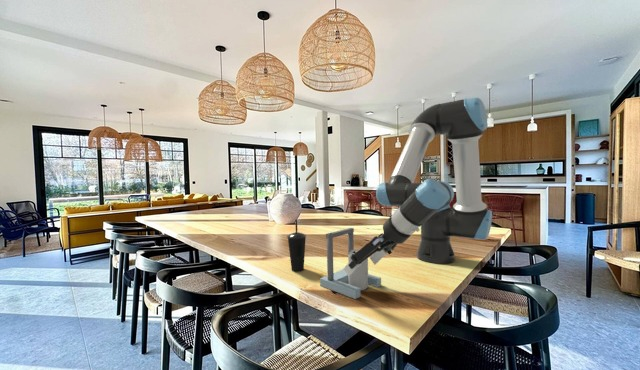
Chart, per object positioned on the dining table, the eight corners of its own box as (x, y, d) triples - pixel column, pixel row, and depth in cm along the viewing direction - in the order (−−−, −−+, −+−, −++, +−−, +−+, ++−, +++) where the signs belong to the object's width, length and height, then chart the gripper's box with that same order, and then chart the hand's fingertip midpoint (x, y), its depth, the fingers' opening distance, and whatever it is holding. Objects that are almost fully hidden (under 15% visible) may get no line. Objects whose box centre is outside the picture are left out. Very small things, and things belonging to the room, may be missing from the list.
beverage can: (347, 284, 93) (346, 249, 93) (365, 283, 94) (365, 248, 93) (350, 292, 87) (349, 255, 86) (370, 291, 87) (369, 254, 87)
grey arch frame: (381, 285, 92) (380, 231, 91) (355, 299, 82) (354, 239, 81) (346, 274, 102) (345, 226, 102) (320, 285, 93) (318, 233, 92)
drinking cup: (310, 267, 111) (309, 218, 110) (301, 274, 104) (299, 221, 103) (294, 265, 114) (292, 217, 113) (284, 271, 107) (282, 220, 107)
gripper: (385, 245, 67) (341, 288, 78) (430, 228, 84) (388, 266, 95) (366, 221, 70) (327, 266, 82) (413, 210, 87) (375, 248, 99)
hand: (360, 266), depth 88 cm, fingers open, 13 cm apart
